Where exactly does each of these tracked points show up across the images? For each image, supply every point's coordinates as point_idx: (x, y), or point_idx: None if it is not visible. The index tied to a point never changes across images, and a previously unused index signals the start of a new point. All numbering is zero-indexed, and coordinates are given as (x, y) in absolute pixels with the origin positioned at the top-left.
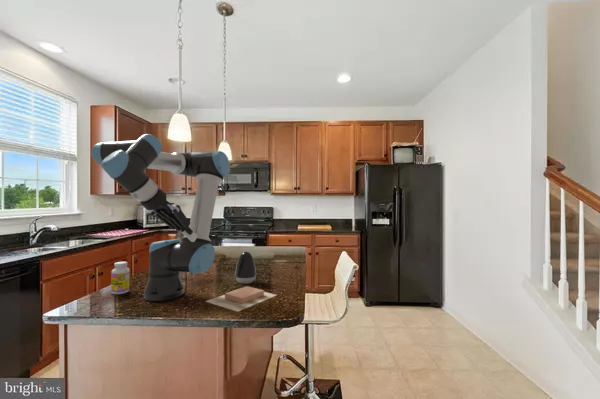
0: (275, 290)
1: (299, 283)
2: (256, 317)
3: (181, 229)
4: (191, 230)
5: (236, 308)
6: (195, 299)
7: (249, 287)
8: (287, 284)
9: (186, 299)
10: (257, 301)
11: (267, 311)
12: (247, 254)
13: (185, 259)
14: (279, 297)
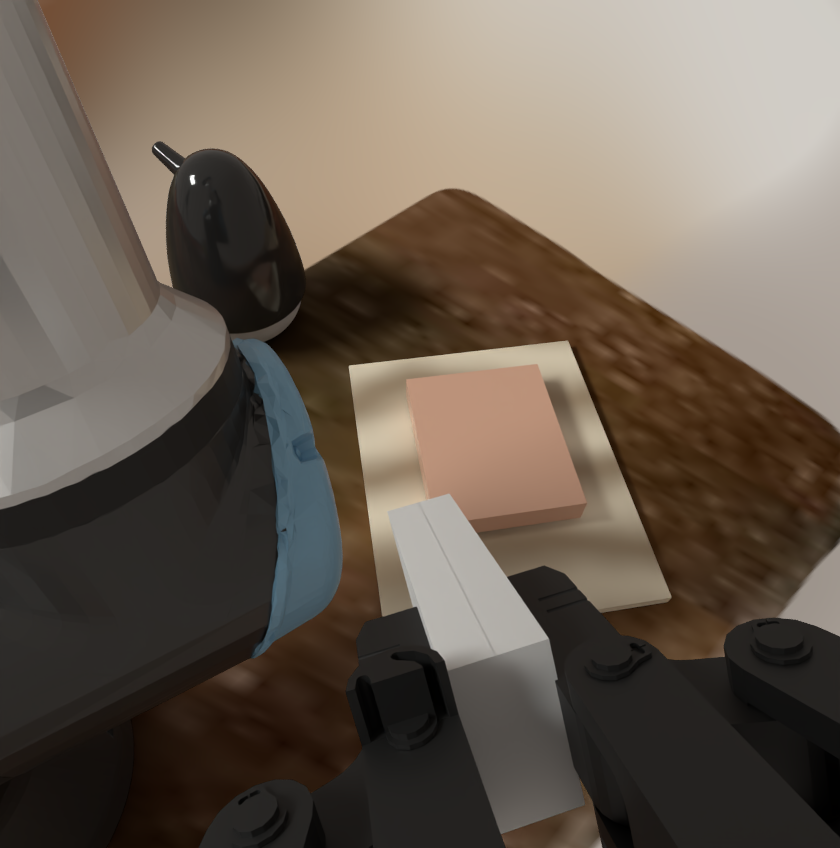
0: (477, 302)
1: (469, 195)
2: (763, 560)
3: (494, 793)
4: (580, 600)
5: (622, 575)
6: (270, 658)
7: (438, 382)
8: (441, 228)
9: (219, 703)
10: (592, 447)
11: (717, 481)
12: (239, 174)
13: (202, 661)
14: (578, 345)
